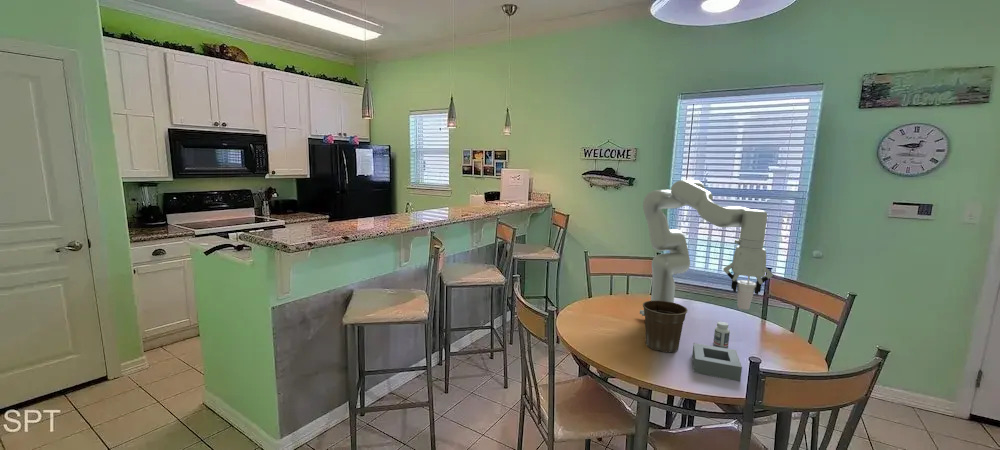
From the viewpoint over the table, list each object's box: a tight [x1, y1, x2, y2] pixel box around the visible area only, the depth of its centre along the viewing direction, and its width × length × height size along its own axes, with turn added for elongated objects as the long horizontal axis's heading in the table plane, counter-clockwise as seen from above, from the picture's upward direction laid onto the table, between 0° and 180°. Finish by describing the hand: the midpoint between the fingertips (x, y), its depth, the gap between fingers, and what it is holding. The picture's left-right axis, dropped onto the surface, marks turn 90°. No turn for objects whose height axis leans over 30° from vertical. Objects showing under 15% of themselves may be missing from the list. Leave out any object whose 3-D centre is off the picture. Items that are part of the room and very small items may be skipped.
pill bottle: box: [713, 321, 730, 348], centre depth 166 cm, size 5×5×9 cm
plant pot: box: [642, 300, 688, 353], centre depth 163 cm, size 16×16×16 cm
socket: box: [691, 342, 743, 382], centre depth 147 cm, size 14×14×5 cm
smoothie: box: [736, 276, 757, 310], centre depth 152 cm, size 6×6×14 cm
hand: (745, 291), depth 152 cm, fingers closed on smoothie, 6 cm apart
